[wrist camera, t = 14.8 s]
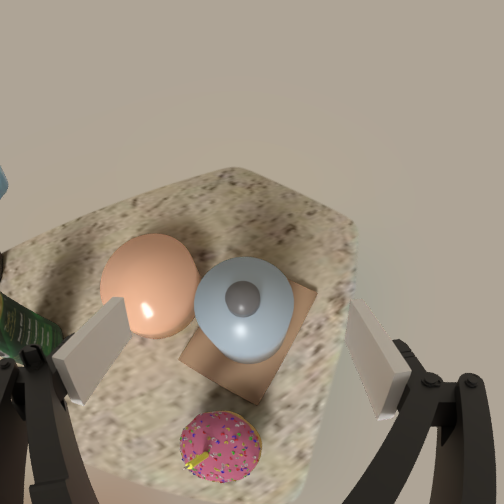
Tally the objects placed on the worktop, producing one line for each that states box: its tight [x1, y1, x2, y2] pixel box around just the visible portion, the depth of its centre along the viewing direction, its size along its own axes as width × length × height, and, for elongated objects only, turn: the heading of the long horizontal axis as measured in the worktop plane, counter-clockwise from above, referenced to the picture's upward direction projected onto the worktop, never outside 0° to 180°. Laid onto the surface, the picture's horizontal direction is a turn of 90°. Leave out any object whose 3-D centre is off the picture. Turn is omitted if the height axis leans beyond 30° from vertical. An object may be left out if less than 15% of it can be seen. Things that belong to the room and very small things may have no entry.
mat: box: [178, 279, 317, 405], centre depth 35 cm, size 11×16×1 cm
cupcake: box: [180, 411, 262, 483], centre depth 23 cm, size 9×8×12 cm
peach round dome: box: [100, 234, 201, 339], centre depth 36 cm, size 13×13×5 cm
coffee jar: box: [0, 292, 63, 365], centre depth 26 cm, size 10×8×19 cm
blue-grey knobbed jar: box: [194, 257, 294, 364], centre depth 29 cm, size 9×9×11 cm
